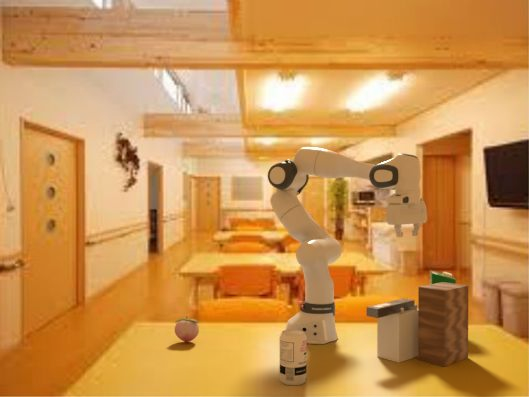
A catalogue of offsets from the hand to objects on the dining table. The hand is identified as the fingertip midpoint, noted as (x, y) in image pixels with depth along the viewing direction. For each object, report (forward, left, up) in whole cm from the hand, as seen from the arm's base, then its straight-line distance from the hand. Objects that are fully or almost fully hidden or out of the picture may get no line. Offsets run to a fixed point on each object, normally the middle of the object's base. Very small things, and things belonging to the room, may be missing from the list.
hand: (407, 236), depth 210 cm
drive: (-8, -11, -25) cm, 29 cm away
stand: (+9, -12, -41) cm, 44 cm away
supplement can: (-44, -34, -41) cm, 69 cm away
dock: (-5, -8, -41) cm, 42 cm away
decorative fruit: (-81, +11, -41) cm, 92 cm away
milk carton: (+20, +21, -41) cm, 50 cm away
